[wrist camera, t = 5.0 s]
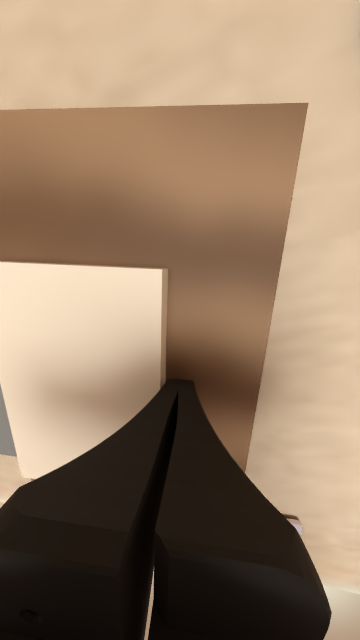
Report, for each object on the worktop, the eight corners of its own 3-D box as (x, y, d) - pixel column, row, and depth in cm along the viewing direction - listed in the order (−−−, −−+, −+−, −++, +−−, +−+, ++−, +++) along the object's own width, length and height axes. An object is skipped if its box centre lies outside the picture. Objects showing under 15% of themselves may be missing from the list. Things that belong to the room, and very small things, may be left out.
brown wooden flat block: (226, 497, 17) (232, 546, 14) (65, 475, 18) (39, 516, 15) (277, 149, 10) (308, 102, 7) (15, 150, 11) (-49, 111, 8)
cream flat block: (163, 469, 12) (158, 496, 11) (41, 453, 13) (21, 477, 12) (168, 268, 9) (162, 269, 8) (5, 261, 10) (-29, 260, 8)
